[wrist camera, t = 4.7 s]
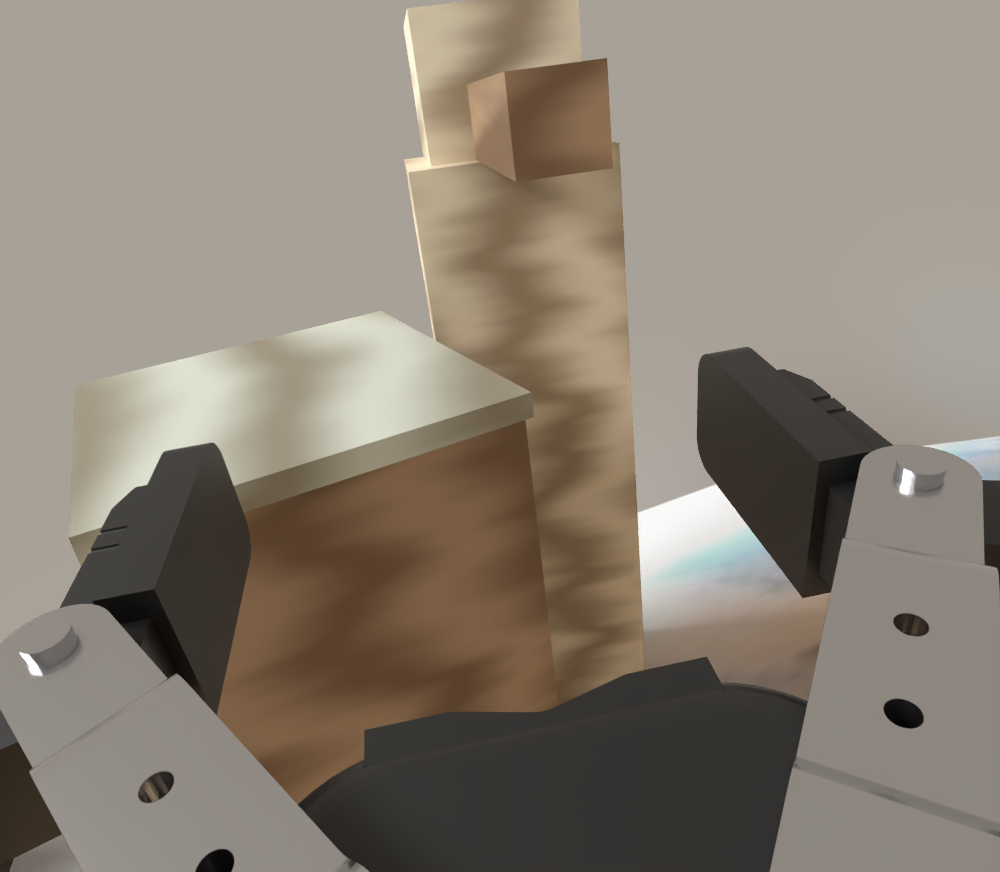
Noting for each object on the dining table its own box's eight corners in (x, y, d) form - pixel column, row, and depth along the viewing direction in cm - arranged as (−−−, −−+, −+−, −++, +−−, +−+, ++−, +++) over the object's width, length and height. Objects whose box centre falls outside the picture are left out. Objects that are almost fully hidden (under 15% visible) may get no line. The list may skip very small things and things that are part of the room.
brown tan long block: (450, 191, 22) (416, -45, 19) (423, 157, 38) (403, 26, 36) (676, 159, 22) (672, -75, 20) (555, 139, 39) (544, 9, 36)
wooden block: (500, 765, 44) (401, 173, 30) (482, 657, 53) (398, 160, 39) (654, 733, 45) (628, 142, 31) (611, 633, 54) (575, 135, 40)
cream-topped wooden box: (333, 1148, 29) (68, 537, 17) (264, 872, 40) (75, 385, 28) (594, 968, 33) (531, 392, 22) (468, 765, 45) (380, 311, 33)
